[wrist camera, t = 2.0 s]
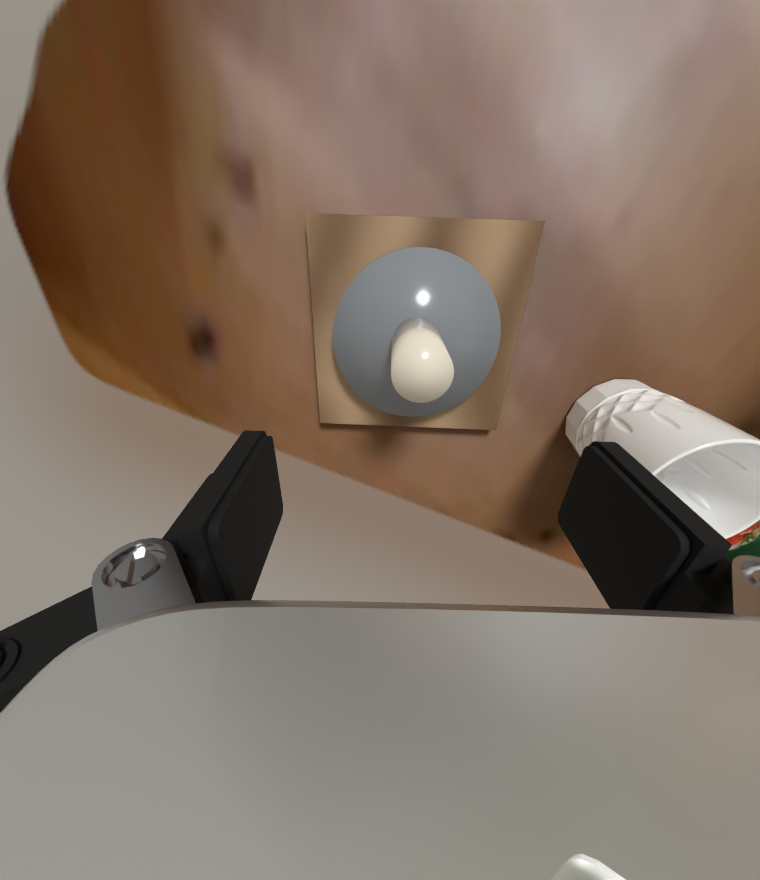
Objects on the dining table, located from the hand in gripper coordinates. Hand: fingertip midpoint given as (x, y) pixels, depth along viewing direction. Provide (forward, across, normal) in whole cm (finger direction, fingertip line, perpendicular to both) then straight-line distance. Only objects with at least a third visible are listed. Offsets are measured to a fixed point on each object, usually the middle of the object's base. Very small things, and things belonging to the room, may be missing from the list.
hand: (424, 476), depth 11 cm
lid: (+16, -1, 0) cm, 16 cm away
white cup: (+16, -17, +6) cm, 24 cm away
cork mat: (+16, -1, 0) cm, 17 cm away
